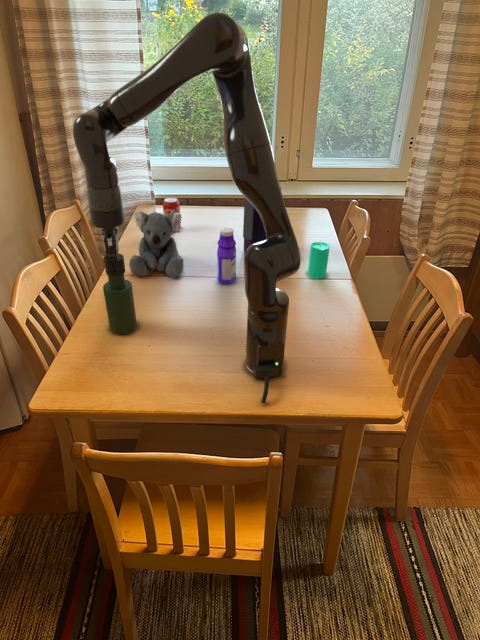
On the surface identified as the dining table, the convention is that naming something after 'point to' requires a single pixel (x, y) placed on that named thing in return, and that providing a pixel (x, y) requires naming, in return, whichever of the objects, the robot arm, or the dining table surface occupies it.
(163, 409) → the dining table surface
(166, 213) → the beverage can
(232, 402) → the dining table surface
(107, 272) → the cylinder
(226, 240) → the bottle
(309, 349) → the dining table surface
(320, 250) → the candle
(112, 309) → the green bottle
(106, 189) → the robot arm
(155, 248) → the koala plush
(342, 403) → the dining table surface
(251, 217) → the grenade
